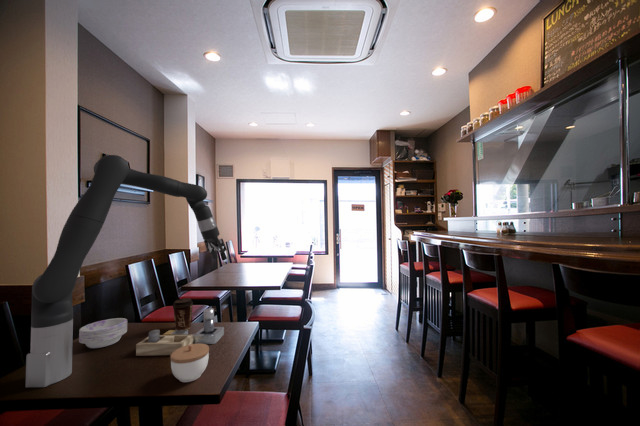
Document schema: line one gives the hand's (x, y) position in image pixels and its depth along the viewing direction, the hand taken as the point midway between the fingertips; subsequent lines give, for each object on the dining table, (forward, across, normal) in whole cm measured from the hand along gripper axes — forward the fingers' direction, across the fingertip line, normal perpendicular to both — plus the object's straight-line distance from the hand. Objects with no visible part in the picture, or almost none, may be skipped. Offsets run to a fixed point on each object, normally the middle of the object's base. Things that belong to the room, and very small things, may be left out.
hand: (220, 259), depth 125 cm
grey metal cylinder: (+25, +11, -22) cm, 35 cm away
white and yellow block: (+22, +1, -30) cm, 37 cm away
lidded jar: (+20, +33, -38) cm, 54 cm away
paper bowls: (+15, -20, -48) cm, 54 cm away
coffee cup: (+24, -10, -23) cm, 35 cm away
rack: (+20, +7, -35) cm, 41 cm away
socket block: (+25, +11, -22) cm, 35 cm away
